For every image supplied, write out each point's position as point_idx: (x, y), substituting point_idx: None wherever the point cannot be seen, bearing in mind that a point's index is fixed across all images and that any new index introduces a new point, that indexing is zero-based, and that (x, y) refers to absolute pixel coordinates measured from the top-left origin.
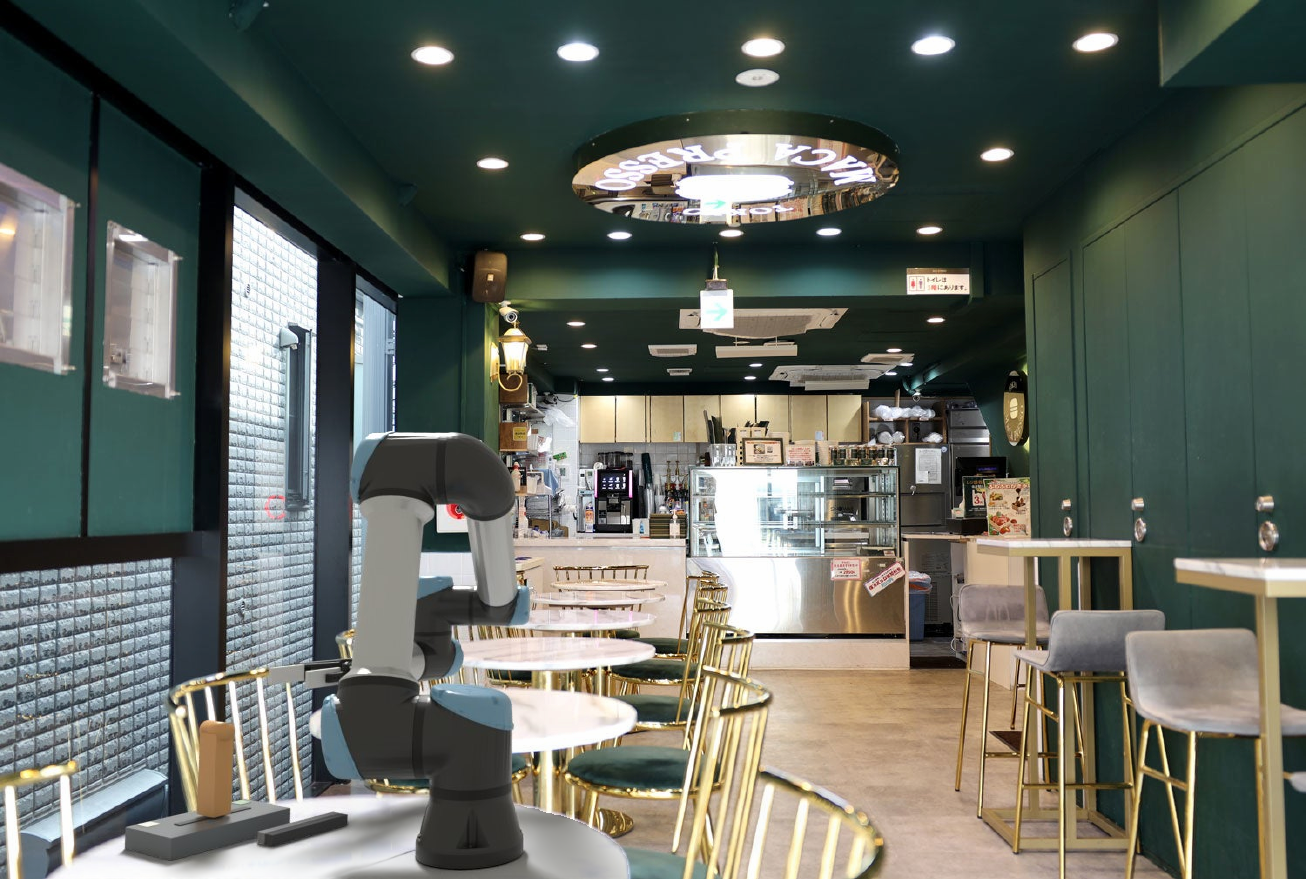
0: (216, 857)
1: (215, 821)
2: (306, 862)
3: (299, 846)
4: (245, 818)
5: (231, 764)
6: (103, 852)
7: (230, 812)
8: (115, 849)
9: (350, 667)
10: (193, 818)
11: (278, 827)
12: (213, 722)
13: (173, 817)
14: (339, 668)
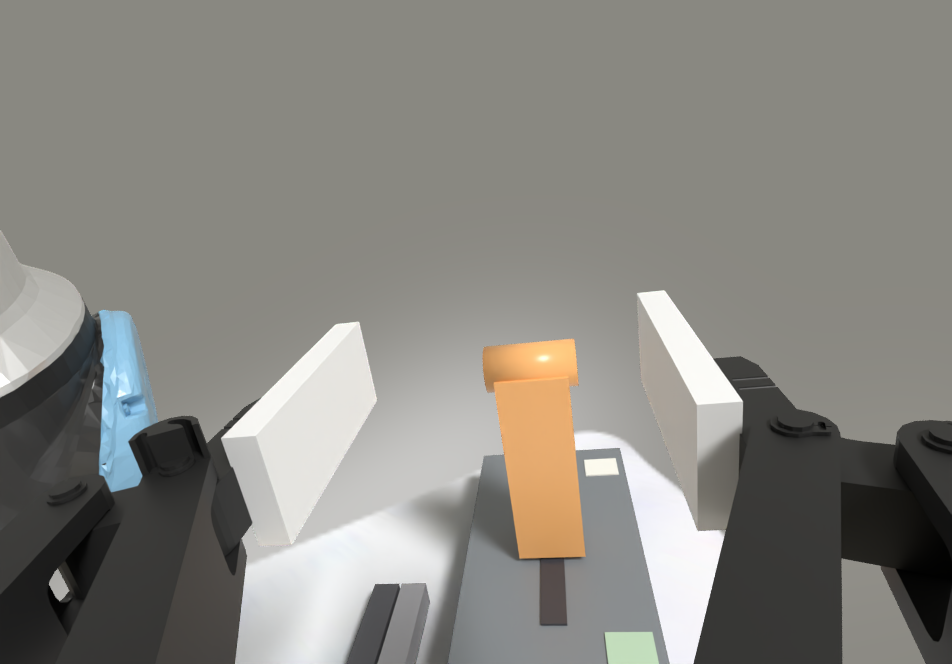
0: (440, 529)
1: (511, 529)
2: (259, 585)
3: (329, 641)
4: (470, 568)
5: (505, 457)
6: (635, 464)
7: (519, 555)
8: (638, 477)
9: (151, 509)
10: None
11: (405, 626)
12: (534, 342)
13: (619, 505)
14: (229, 437)
